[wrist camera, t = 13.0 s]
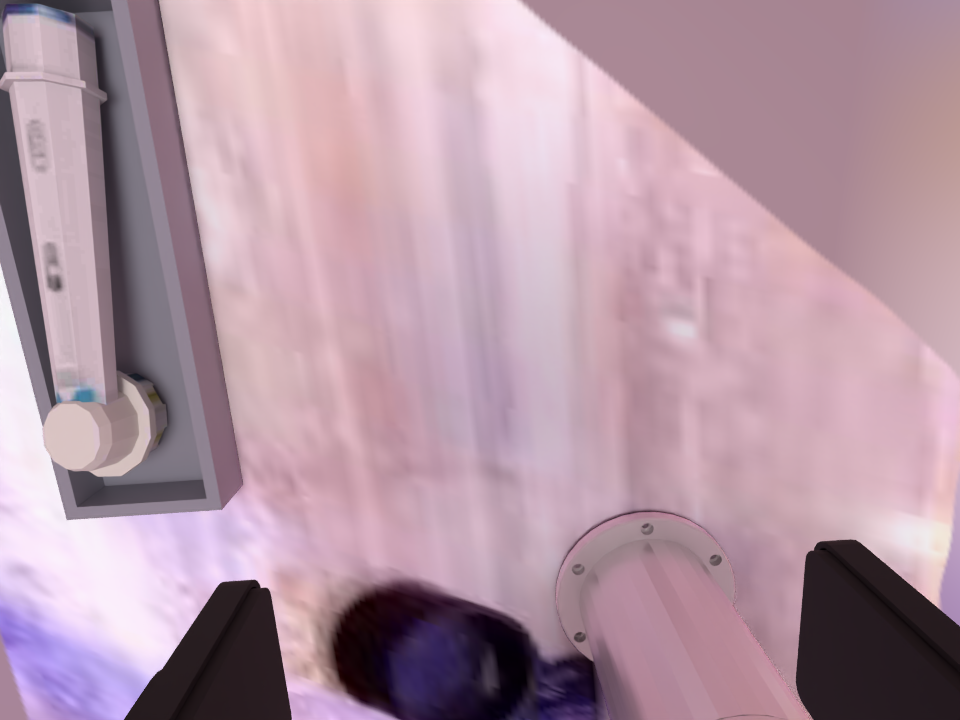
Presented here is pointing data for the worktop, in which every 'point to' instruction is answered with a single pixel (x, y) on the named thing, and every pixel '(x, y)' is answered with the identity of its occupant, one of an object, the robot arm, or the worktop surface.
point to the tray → (134, 275)
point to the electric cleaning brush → (73, 243)
